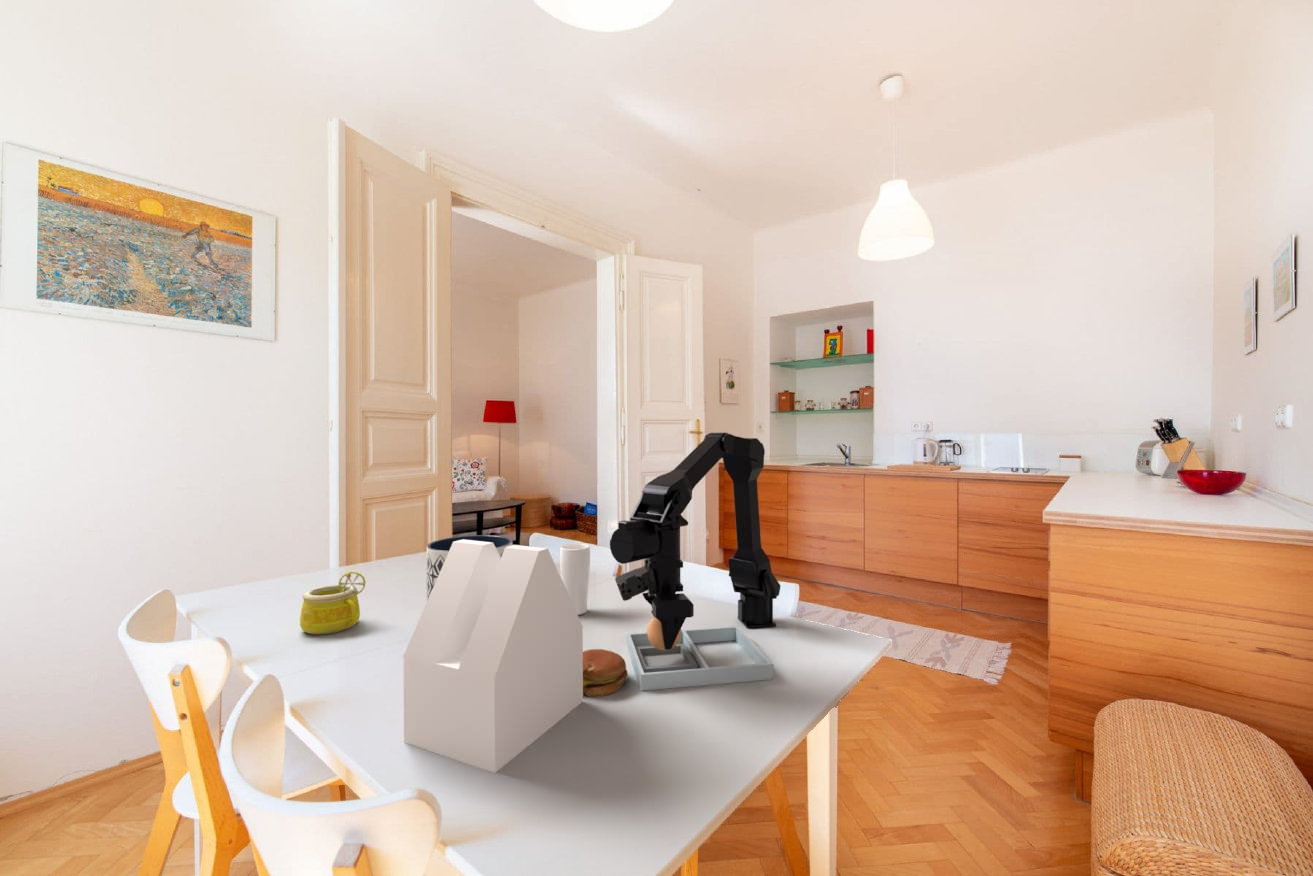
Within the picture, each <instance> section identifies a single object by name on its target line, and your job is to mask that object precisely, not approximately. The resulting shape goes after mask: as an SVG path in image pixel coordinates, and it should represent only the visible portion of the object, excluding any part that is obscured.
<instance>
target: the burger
mask: <svg viewBox="0 0 1313 876" xmlns="http://www.w3.org/2000/svg"><path fill="white" fill-rule="evenodd" d="M628 676H629V674H628V670H627V664H626V661H625V659H624V658H623V657H622V655H620V654H618V653H616V652H614V651H611V650H608V649H602V648H593V649H588V650H586V649H585V650H583V694H585V695H586V696H587V697H596V698H597V697H606V696H608V695H612V694H614V693H616V692H617V691H619V690H620V689H621V688H622V685H623V684H624V683H625V682H626V681H627V677H628Z"/></svg>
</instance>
